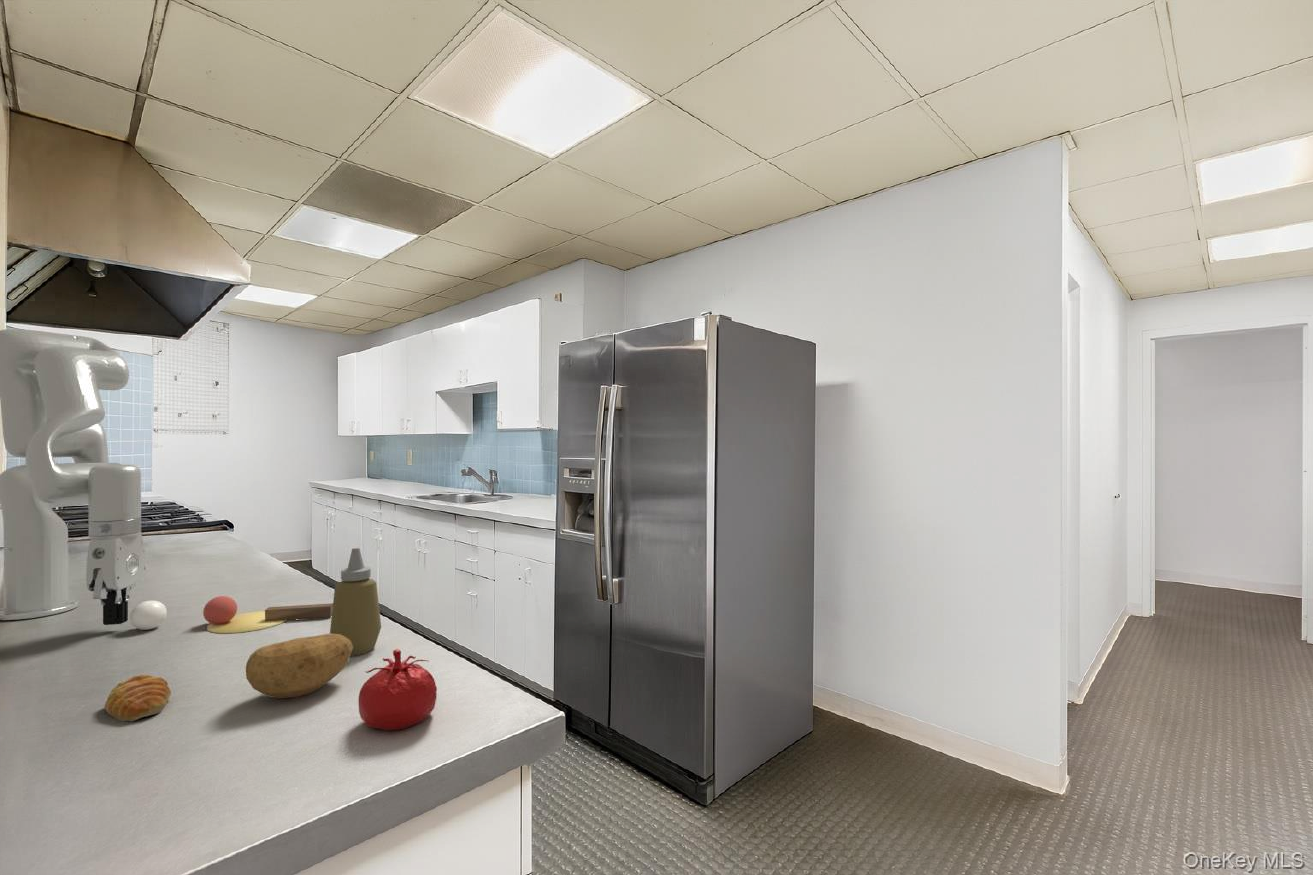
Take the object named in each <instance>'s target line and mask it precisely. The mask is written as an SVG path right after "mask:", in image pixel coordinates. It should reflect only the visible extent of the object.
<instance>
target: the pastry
mask: <svg viewBox="0 0 1313 875" xmlns="http://www.w3.org/2000/svg"><path fill="white" fill-rule="evenodd" d="M168 684H169V683H168V681H167V680H165V679H164V678H163V677H155V676H154V675H152V674H140V675H134V676H132V677H130V678H128V679H126V680H125V681H121V682H118V684H117V685H116V686H115V687H114V688H112V689H111V691H110V693H109V694H108V696H107V698H106V699H107V700H106V701H105V703H104V708H105V711H106V712H107V715H109V716H111V717H112V718H115V719H117V720H119V721H122V722H134V721H137V720H139V719H141V718H144V717H145V718H146V717H149V716H153V715H156V714H159V713H161V712H162V710H164V707H165V706H167V705H168V704H169V699H170V697H171V694H172V691H171V689H170V687H169V686H168Z"/></svg>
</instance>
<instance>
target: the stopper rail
mask: <svg viewBox="0 0 1313 875" xmlns="http://www.w3.org/2000/svg"><path fill="white" fill-rule="evenodd" d="M332 609H333V602H332V603H317V604H299V605H298V604H297V605H286V606H285V605H284V606H269V607H267V608H266V609H264V611H265V621H278V620H293V621H297V620H296V619H308V620H320V619H321V620H322V618H324V619H331V618H332V617H331V616H332ZM330 617H331V618H330Z"/></svg>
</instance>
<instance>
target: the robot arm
mask: <svg viewBox="0 0 1313 875" xmlns="http://www.w3.org/2000/svg"><path fill="white" fill-rule="evenodd" d="M129 380H130V371H129V366H128V364H127V362H126V360H125V359H124V358H123V356H122V355H121V354H120V353H119V352H117V351H116V350H114V349H113V348H112V347H110V346H108V345H107V344H105V343H104V342H102V341H100V340H98V339H95V338H93V337H89V336H82V335H75V334H74V335H73V334H66V333H57V332H51V331H44V330H43V331H42V330H34V329H22V328H21V329H20V328H7V329H0V412H1V424H2V436H3V437H2V438H3V443H4V446H5V449H6V451H7V453H8V454H9V455H10V456H13V457H16V458H24V459H25V464H22V465H21V464H20V465H16V466H12V467H10V468H7V469H6V470H4V471H3V472H1V473H0V509H1V516H2V524H3V607H2V608H0V621H14V620H15V621H16V620H17V621H18V620H28V619H34V618H42V617H46V616H53V615H57V614H61V613H64V612H68V611H70V610H73V609H75V608H77V607H78V605H79V600H77V599H76V598H75V599H74V598H69V530H68V528H69V527H68V525H67V523H66V522H65V521H64V520H63V519H62V517H60V516H59V515H58V514H57V513H56V512H55V511H54V510H53V509H55V508H62V507H72V506H73V507H75V506H84V505H86V506H87V505H88V508H87V509H88V539H89V544H88V548H87V549H88V550H87V558H86V574H85V575H86V576H85V581H86V588H87V590H88V591H89V592H93V594H92V599H93V600H100V605H102V624H103V625H104V626H110V625H111V626H112V625H122V624H123V623H126V622H128V620H129V600H130V597H131V596H130V594H131V590H132V589H133V588H134V587H136V584H138V583H141V582H142V581H143V580H145V578H146V577H147V576H146V575H147V574H146V573H147V571H146V570H147V568H146V553H145V544H144V539H143V535H142V473H141V472H142V471H141V469H140V467H139V466H137V465H135V464H123V463H120V462H109V453H108V452H109V451H108V442H107V434H106V430H105V429H104V426H103V424H102V423H101V422H103V420H104V418H105V417H106V411H105V408H104V405H103V402H102V401H103V400H102V398H101V395H100V391H99V390H101V391H119V390H122V389H123V388H125V387H126V386H127V384H128V381H129ZM56 458H60V459H61V458H71V459H73V461H74V462H72V463H71V462H70V463H69V462H68V463H67V462H65V463H58V462H55V459H56Z"/></svg>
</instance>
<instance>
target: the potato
mask: <svg viewBox="0 0 1313 875" xmlns="http://www.w3.org/2000/svg"><path fill="white" fill-rule="evenodd" d="M352 649H353V645H352V643H351V640H349V639H348V638H347V637H345V636H343V635H340V634H330V633H325V634H319V635H315V636H305V637H296V638H293V639H290V640H289V639H288V640H286V641H280V642H276V643H272V644H268V645H265V646H261V647H259V648H258V649H256V650H254V652H252V653H251V654H250V655H249V657H248V659H247V662H246V664H245V677H246V680H247V681H248V683H249V684H250V686H251V688H252V689H253V690H255V691H257V692H259V693H260V694H262V695H265V696H267V697H271V698H278V699H279V698H280V699H282V698H284V699H285V698H287V699H288V698H296V697H301V696H306V695H309V694H311V693H312V692H314V691H316V690H319V689H320V688H321V687H323V686H324V685H326V684H327V683H328V682H330V681H331V680H332V679H333V678H335V677H336V676H337V675H338V674H339V673H340V672H341V671H342V670H343V669H344V668H345V667H346V665H347V664H348V663H349V659H350V654H351V652H352Z"/></svg>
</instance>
